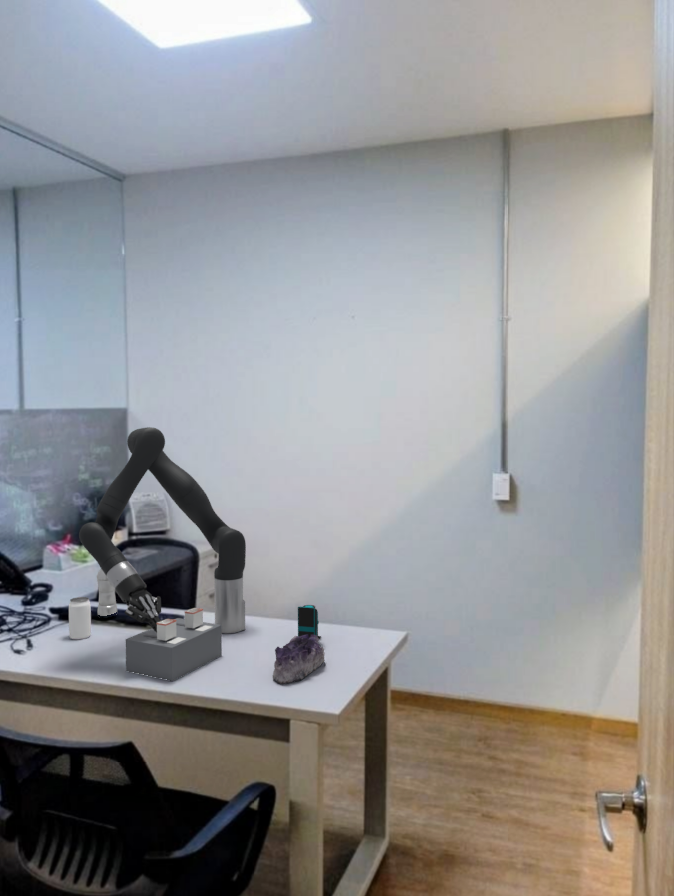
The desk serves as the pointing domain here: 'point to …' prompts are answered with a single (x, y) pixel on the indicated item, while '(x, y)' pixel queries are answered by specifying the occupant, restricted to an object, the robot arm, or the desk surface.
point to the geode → (297, 659)
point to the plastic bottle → (105, 595)
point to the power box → (173, 650)
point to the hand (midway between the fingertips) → (160, 630)
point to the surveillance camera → (308, 621)
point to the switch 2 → (193, 617)
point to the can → (79, 618)
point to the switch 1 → (166, 629)
